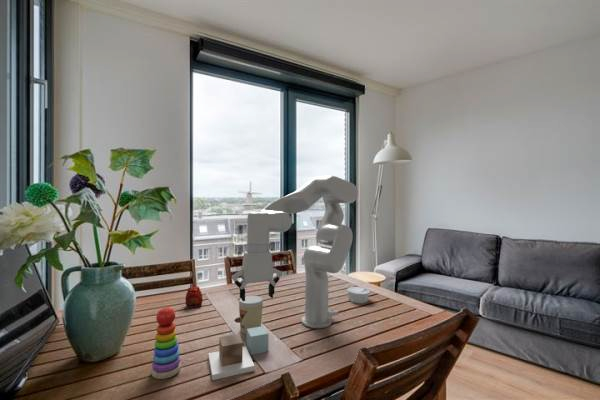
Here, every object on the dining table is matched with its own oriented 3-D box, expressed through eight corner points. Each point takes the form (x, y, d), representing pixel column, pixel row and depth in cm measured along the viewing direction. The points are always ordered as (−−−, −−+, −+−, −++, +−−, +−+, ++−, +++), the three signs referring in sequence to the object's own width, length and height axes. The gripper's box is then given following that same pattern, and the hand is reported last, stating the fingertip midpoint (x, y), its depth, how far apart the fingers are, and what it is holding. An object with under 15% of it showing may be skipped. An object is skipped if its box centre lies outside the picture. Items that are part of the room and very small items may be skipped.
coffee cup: (236, 326, 114) (237, 296, 113) (259, 323, 117) (260, 294, 117) (240, 337, 105) (240, 304, 105) (265, 333, 108) (265, 302, 108)
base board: (245, 350, 96) (245, 346, 96) (254, 370, 85) (254, 365, 85) (208, 357, 91) (208, 353, 91) (212, 380, 80) (212, 374, 80)
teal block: (263, 342, 101) (263, 325, 101) (268, 351, 96) (268, 333, 96) (246, 346, 99) (246, 328, 99) (250, 354, 94) (250, 336, 94)
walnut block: (238, 352, 92) (238, 333, 92) (242, 362, 87) (242, 342, 86) (219, 356, 90) (219, 337, 90) (222, 366, 84) (222, 346, 84)
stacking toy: (185, 363, 88) (185, 303, 88) (174, 380, 80) (175, 313, 80) (159, 364, 88) (159, 303, 87) (146, 380, 80) (146, 314, 80)
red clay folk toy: (184, 309, 130) (185, 276, 130) (185, 304, 137) (186, 272, 137) (202, 307, 132) (202, 275, 132) (202, 302, 139) (203, 271, 139)
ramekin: (371, 304, 139) (372, 294, 139) (348, 304, 139) (349, 293, 139) (366, 296, 150) (367, 286, 150) (345, 296, 150) (345, 286, 150)
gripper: (278, 245, 104) (277, 292, 104) (230, 247, 97) (229, 297, 97) (285, 248, 97) (284, 298, 97) (234, 251, 90) (233, 305, 90)
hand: (257, 298), depth 97 cm, fingers open, 9 cm apart
